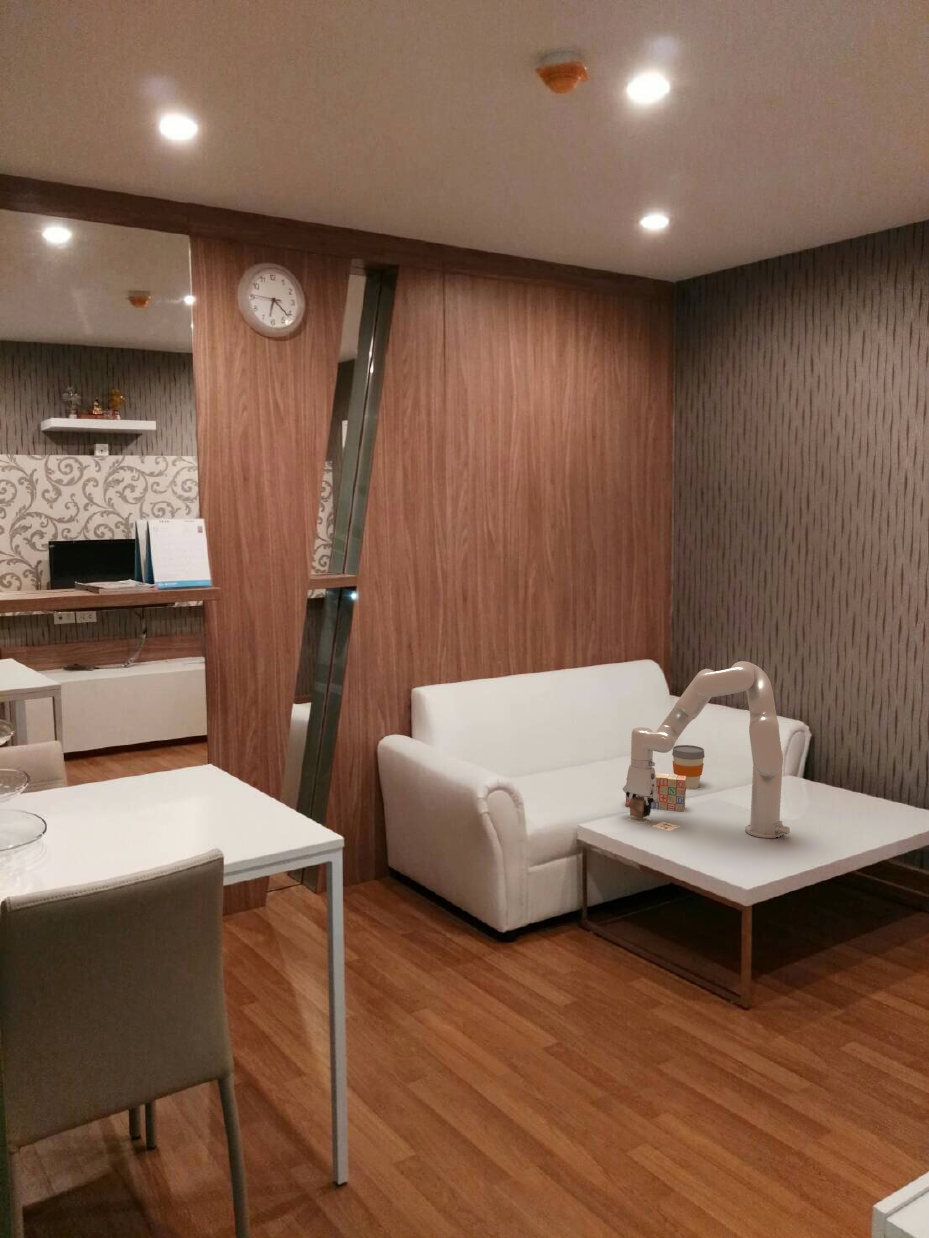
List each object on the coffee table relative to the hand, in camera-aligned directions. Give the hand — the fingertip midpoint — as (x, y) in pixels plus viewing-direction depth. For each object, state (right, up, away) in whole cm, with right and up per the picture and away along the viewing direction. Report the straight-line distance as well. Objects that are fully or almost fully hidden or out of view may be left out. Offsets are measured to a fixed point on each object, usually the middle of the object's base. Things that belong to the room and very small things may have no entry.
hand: (640, 812), depth 357 cm
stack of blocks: (+8, -1, +15) cm, 18 cm away
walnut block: (0, -1, 0) cm, 1 cm away
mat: (+4, -3, -3) cm, 6 cm away
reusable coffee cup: (+26, +2, +44) cm, 51 cm away
